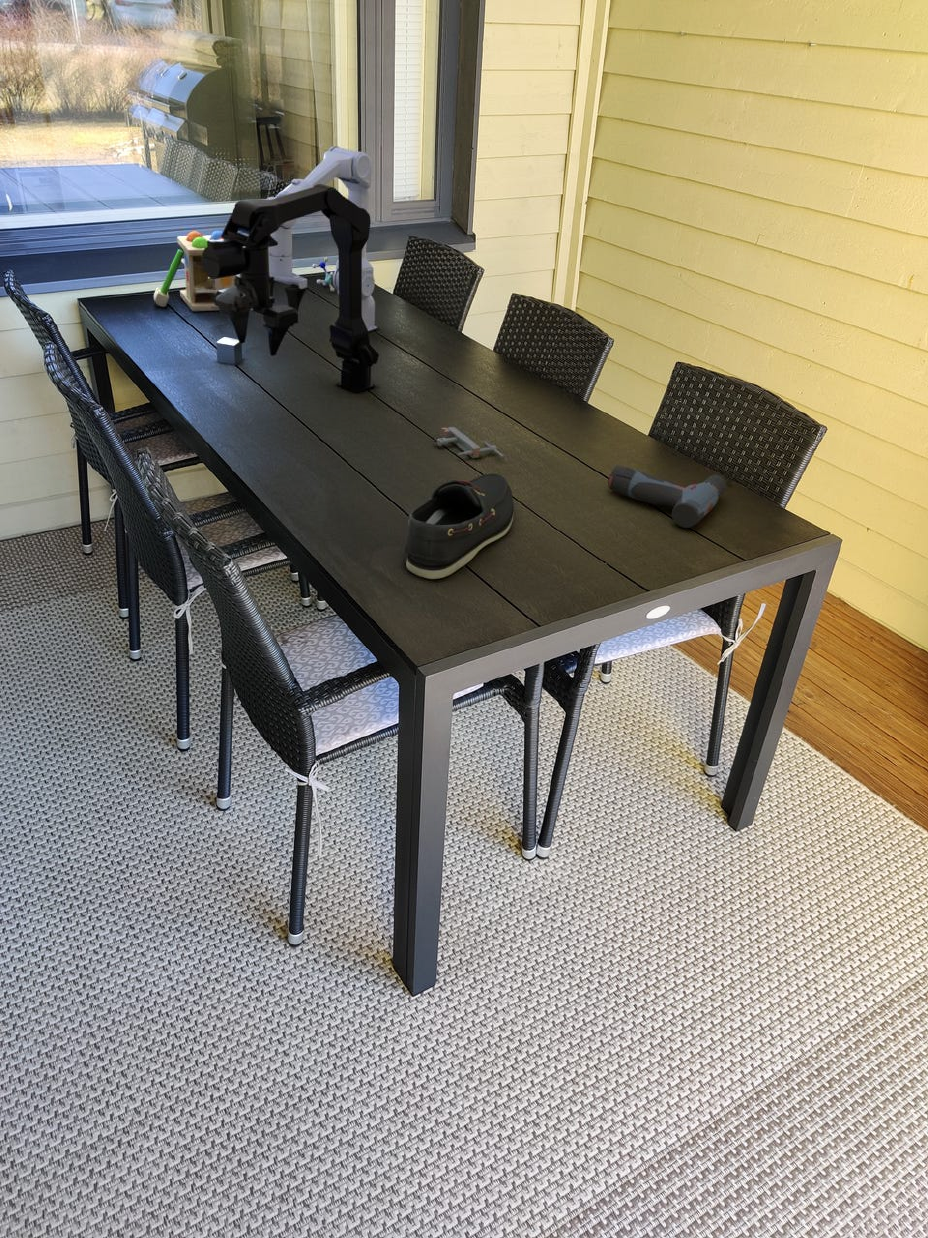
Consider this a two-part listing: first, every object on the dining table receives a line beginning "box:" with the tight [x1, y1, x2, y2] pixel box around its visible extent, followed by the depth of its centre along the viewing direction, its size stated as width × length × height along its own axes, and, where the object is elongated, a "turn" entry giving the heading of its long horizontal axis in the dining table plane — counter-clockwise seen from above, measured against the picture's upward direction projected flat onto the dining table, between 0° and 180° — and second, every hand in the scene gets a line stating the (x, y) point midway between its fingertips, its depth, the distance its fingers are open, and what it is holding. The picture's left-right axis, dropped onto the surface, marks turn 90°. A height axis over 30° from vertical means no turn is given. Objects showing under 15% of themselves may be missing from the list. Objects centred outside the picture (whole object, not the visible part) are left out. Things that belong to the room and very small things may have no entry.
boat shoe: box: [403, 472, 515, 580], centre depth 170 cm, size 13×33×10 cm, turn 147°
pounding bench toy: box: [153, 230, 237, 312], centre depth 261 cm, size 23×14×18 cm, turn 116°
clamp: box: [436, 426, 507, 460], centre depth 201 cm, size 15×2×10 cm
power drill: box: [607, 465, 727, 529], centre depth 189 cm, size 5×19×20 cm
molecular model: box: [311, 256, 336, 293], centre depth 286 cm, size 12×10×10 cm
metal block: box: [215, 336, 243, 366], centre depth 232 cm, size 4×4×5 cm
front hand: (257, 348), depth 200 cm, fingers open, 9 cm apart
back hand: (280, 312), depth 235 cm, fingers open, 7 cm apart
